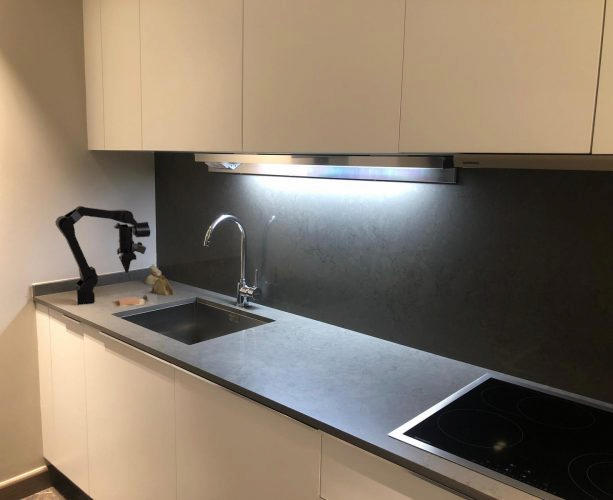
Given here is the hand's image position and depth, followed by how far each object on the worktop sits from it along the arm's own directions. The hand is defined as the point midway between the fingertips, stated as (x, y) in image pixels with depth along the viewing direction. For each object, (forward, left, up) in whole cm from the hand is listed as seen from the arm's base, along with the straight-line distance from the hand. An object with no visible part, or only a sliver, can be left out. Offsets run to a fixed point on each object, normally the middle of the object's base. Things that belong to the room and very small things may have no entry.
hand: (127, 272), depth 247 cm
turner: (+7, -9, -11) cm, 16 cm away
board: (+1, -10, -12) cm, 16 cm away
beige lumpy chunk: (+16, +27, -12) cm, 34 cm away
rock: (+16, +2, -12) cm, 20 cm away
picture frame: (-1, -7, -11) cm, 13 cm away
